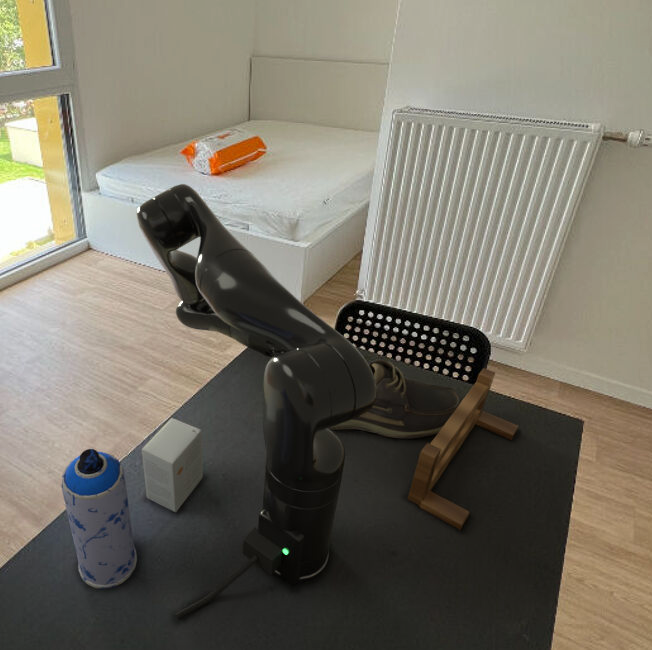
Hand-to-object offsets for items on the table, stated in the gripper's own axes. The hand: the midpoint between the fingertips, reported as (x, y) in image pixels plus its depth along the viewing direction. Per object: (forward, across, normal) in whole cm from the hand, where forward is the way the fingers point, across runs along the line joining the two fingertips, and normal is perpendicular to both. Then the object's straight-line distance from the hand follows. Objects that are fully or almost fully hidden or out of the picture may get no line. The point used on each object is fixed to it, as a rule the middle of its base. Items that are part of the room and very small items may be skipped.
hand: (334, 364), depth 97 cm
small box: (-7, -35, +8) cm, 36 cm away
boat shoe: (+9, 0, +8) cm, 12 cm away
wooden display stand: (+25, 0, +8) cm, 27 cm away
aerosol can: (-5, -50, +8) cm, 51 cm away
